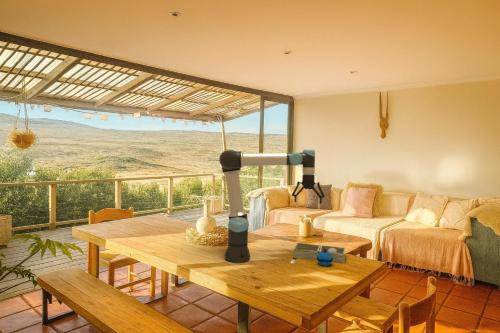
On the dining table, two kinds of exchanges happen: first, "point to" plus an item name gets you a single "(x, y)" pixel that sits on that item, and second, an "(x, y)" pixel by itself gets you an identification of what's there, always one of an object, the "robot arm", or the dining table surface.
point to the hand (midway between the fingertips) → (307, 208)
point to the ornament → (324, 258)
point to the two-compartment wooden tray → (317, 252)
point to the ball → (332, 250)
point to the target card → (293, 261)
